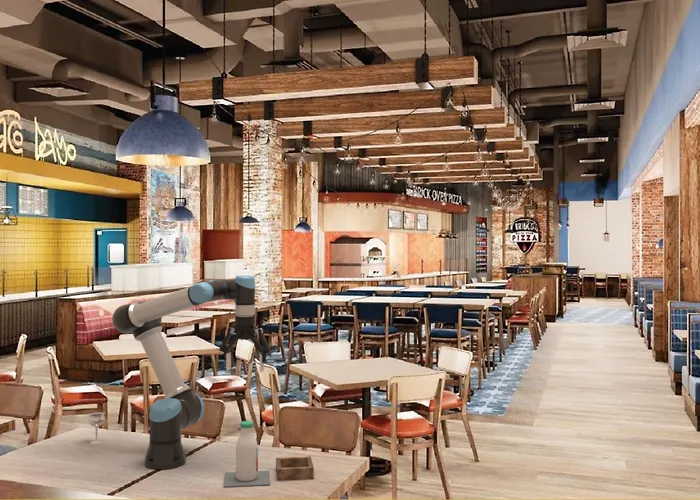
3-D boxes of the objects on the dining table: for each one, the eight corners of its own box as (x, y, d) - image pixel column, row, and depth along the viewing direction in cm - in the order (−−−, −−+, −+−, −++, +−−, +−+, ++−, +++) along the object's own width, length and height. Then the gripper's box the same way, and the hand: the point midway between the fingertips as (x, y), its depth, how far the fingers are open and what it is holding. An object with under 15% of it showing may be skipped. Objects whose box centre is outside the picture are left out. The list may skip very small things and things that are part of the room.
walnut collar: (277, 480, 244) (277, 469, 244) (275, 468, 257) (275, 457, 257) (313, 479, 246) (313, 467, 246) (310, 467, 259) (310, 456, 259)
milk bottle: (253, 482, 241) (253, 425, 240) (232, 481, 242) (232, 424, 242) (260, 475, 248) (260, 419, 248) (240, 473, 250) (240, 418, 249)
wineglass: (84, 444, 286) (84, 415, 286) (93, 439, 293) (93, 411, 293) (99, 445, 285) (99, 416, 285) (108, 440, 292) (108, 412, 292)
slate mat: (223, 487, 237) (223, 486, 237) (225, 473, 251) (225, 472, 251) (270, 485, 239) (270, 484, 239) (269, 471, 253) (269, 470, 253)
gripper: (279, 315, 267) (279, 370, 267) (218, 313, 272) (218, 367, 272) (272, 317, 260) (272, 373, 260) (210, 315, 265) (210, 370, 265)
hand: (245, 370), depth 266 cm, fingers open, 13 cm apart
